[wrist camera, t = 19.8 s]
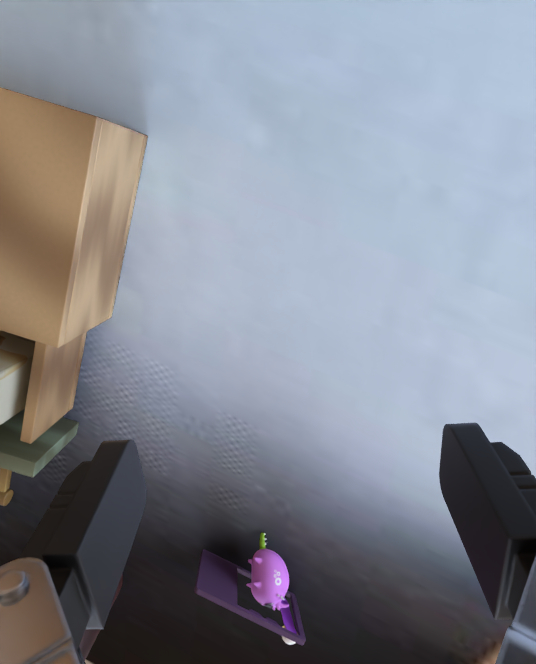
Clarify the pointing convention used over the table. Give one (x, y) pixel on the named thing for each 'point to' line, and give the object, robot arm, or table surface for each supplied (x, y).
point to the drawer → (41, 413)
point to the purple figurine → (252, 589)
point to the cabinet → (62, 216)
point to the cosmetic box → (14, 373)
